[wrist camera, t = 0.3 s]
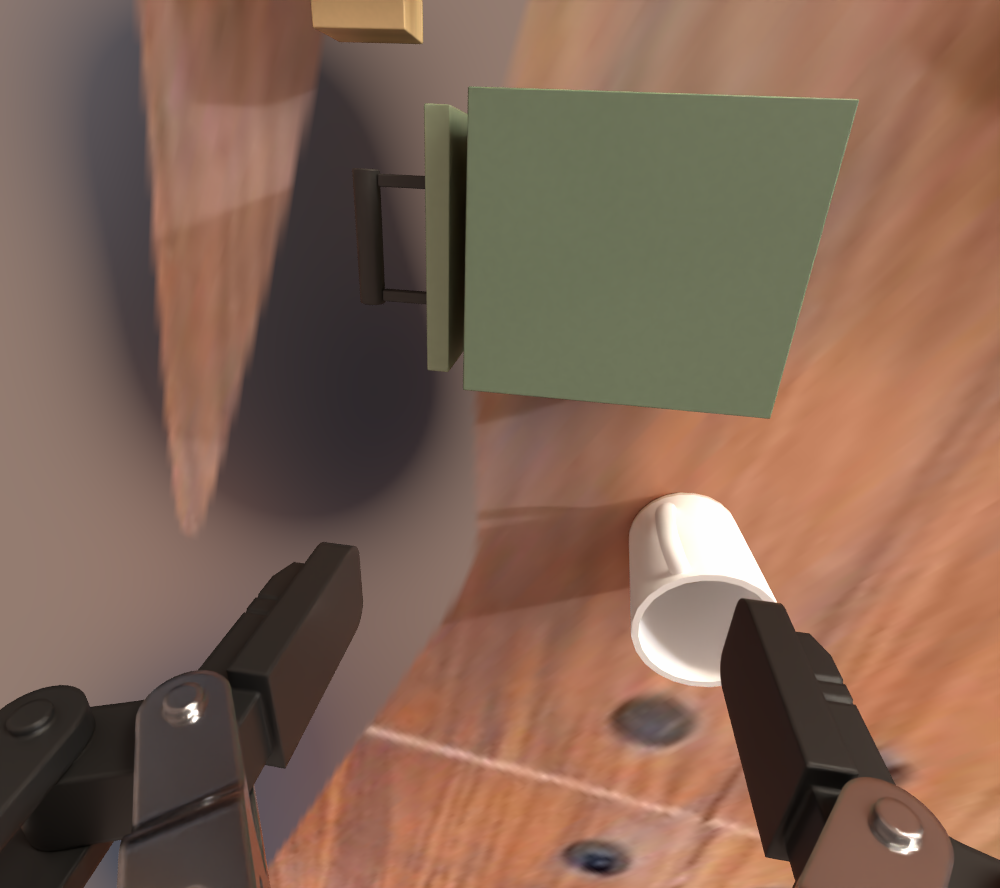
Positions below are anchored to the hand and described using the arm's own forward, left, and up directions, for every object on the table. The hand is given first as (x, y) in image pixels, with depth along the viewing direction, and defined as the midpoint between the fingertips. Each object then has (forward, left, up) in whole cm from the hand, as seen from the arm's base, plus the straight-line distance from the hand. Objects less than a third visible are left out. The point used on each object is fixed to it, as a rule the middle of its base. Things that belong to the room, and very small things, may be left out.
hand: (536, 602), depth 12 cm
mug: (+16, +9, -28) cm, 34 cm away
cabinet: (-4, +2, -28) cm, 29 cm away
